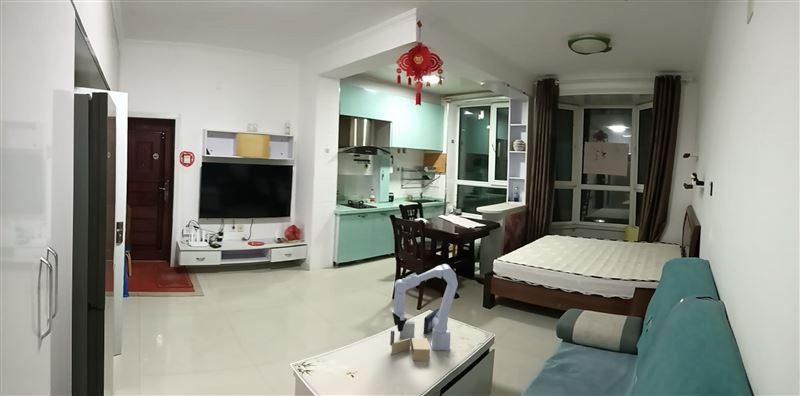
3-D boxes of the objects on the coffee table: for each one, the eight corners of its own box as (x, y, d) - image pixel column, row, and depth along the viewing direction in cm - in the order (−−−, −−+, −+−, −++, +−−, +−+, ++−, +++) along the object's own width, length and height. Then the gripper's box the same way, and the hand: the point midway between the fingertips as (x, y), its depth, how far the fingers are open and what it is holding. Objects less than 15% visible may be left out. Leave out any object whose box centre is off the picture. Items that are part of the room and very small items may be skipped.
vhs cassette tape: (427, 335, 226) (428, 318, 224) (422, 333, 227) (423, 316, 226) (441, 324, 241) (442, 308, 240) (437, 323, 242) (438, 307, 241)
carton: (426, 349, 209) (426, 338, 208) (429, 360, 197) (429, 349, 196) (411, 348, 208) (411, 338, 208) (413, 360, 196) (413, 349, 196)
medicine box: (414, 335, 224) (415, 321, 223) (413, 339, 219) (414, 324, 218) (400, 334, 225) (401, 319, 224) (399, 338, 220) (400, 323, 219)
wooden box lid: (410, 348, 208) (410, 330, 207) (392, 354, 201) (392, 336, 200) (403, 344, 212) (404, 327, 211) (386, 350, 205) (387, 332, 204)
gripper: (389, 298, 213) (388, 322, 215) (395, 308, 199) (394, 334, 201) (401, 297, 215) (400, 321, 216) (408, 308, 201) (407, 333, 202)
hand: (398, 328), depth 209 cm, fingers open, 7 cm apart
